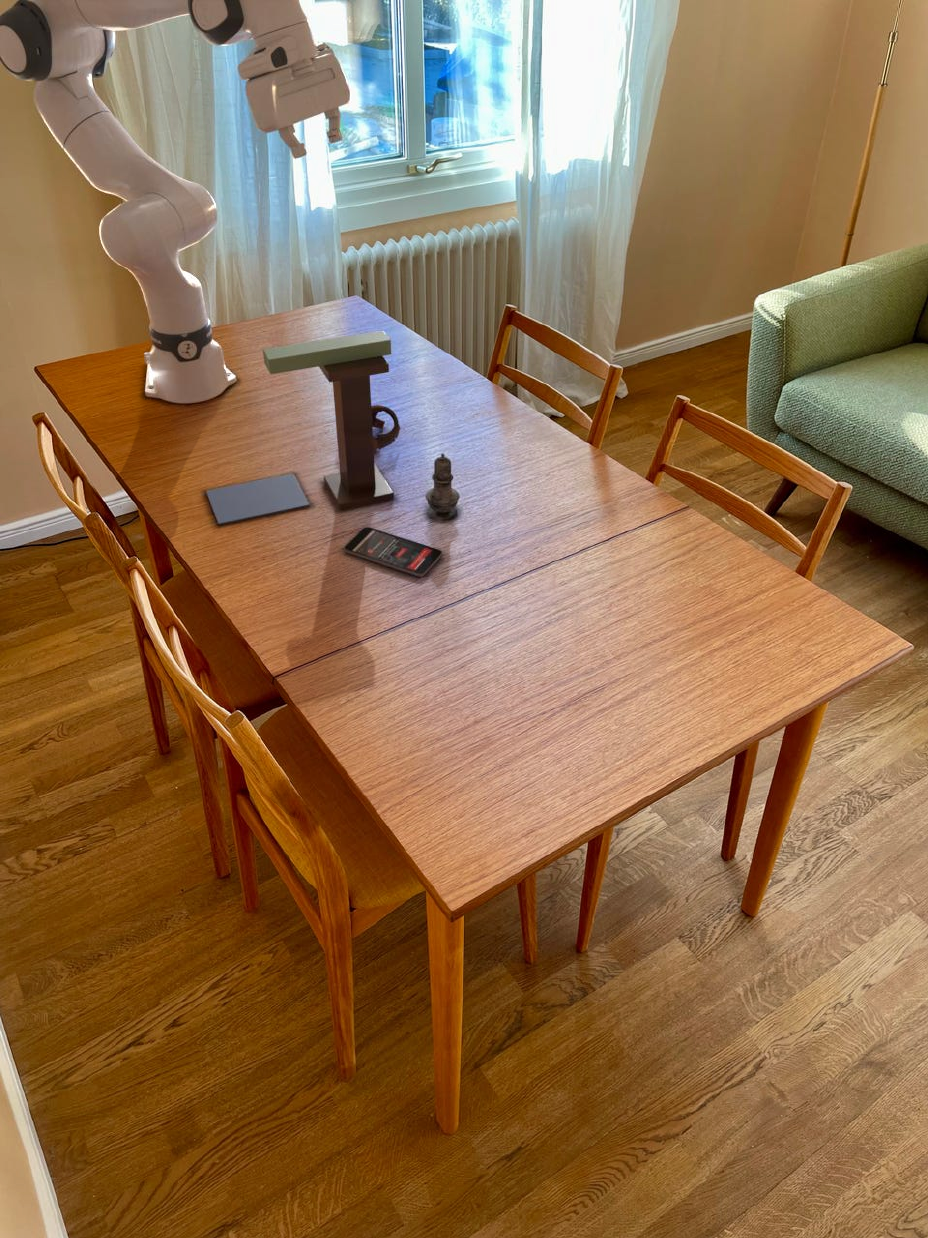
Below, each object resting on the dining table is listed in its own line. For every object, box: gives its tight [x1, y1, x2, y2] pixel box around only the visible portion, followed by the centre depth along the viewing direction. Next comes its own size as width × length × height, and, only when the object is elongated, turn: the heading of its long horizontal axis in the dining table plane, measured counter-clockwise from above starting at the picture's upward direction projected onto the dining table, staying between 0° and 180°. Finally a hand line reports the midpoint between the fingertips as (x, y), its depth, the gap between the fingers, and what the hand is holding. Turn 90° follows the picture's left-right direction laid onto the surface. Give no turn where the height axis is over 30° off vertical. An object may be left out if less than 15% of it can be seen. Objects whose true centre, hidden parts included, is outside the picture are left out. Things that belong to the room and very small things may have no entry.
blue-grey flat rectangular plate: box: [205, 472, 310, 526], centre depth 167 cm, size 11×16×1 cm
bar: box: [262, 329, 392, 375], centre depth 151 cm, size 4×20×2 cm, turn 113°
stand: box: [318, 356, 395, 512], centre depth 161 cm, size 10×10×26 cm
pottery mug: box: [371, 404, 402, 453], centre depth 181 cm, size 12×10×8 cm
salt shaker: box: [425, 452, 461, 523], centre depth 161 cm, size 6×6×12 cm
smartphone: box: [343, 526, 443, 578], centre depth 156 cm, size 7×1×15 cm
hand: (318, 149), depth 151 cm, fingers open, 8 cm apart
